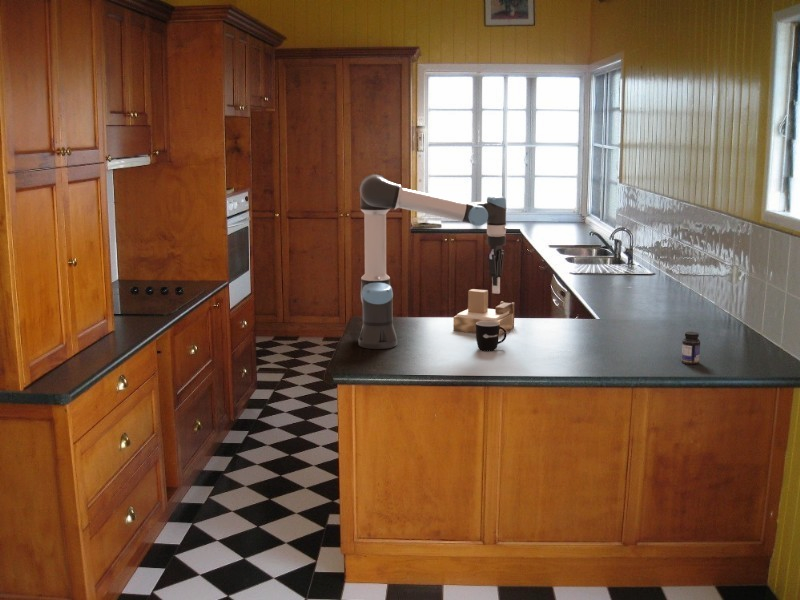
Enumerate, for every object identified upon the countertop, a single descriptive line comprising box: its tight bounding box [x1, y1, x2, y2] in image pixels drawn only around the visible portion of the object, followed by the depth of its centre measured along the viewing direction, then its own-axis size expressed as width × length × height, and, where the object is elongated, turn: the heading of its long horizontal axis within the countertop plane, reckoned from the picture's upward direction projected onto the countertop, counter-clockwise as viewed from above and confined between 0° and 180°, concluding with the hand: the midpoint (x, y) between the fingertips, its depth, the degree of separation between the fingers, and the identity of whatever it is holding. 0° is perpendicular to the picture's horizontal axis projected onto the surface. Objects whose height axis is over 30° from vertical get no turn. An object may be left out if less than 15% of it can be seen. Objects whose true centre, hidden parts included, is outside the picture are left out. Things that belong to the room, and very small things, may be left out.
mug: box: [475, 321, 507, 352], centre depth 336 cm, size 12×9×10 cm
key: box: [495, 302, 512, 314], centre depth 369 cm, size 4×11×2 cm, turn 153°
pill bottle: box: [681, 330, 701, 365], centre depth 316 cm, size 6×6×11 cm
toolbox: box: [452, 300, 515, 337], centre depth 369 cm, size 20×18×10 cm
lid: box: [456, 288, 509, 321], centre depth 367 cm, size 17×16×11 cm
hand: (496, 293), depth 358 cm, fingers closed
